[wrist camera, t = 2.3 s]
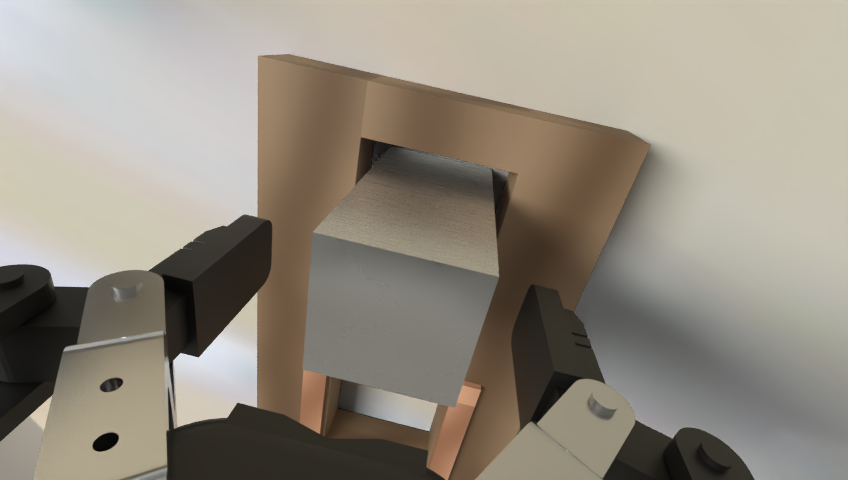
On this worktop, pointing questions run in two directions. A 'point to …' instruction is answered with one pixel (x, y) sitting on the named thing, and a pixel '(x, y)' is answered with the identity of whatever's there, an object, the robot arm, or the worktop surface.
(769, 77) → the worktop surface
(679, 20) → the worktop surface
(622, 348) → the worktop surface
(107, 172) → the worktop surface
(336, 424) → the socket board
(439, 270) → the steel peg
